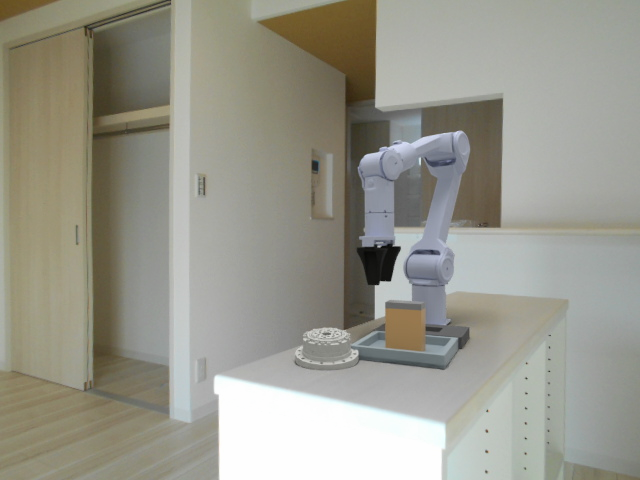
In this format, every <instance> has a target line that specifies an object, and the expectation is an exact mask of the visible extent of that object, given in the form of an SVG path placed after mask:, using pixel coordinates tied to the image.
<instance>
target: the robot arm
mask: <svg viewBox="0 0 640 480" xmlns="http://www.w3.org/2000/svg"><path fill="white" fill-rule="evenodd" d="M470 153H471V145H470V140H469V138H468V135H467V134H466V133H465V132H464V131H463V130H458V131H451V132H444V133H437V134H433V135H432V134H431V135H428V136H424V137H421V138H419V139H417V140H415V141H414V142H412V143H410V142H407V141H403V140H401V139H399V140H395V141H393V142H392V145H390V146H382V147H380V148H379V151H378V152H373V153H372V152H371V153H367V154H365V155H364V156H363V157H362V158H361V160H360V161H359V166H357V172H358V176H359V178H360V181H361V188H362V190H363V191H364V235H363V236H361V235H360V236H359V237H358V240H361V246H359V247H356V253H357V255H358V257H359V259H360V261H361V264H362V266H363V270H364V274H365V279H366V282H367V285H368V286H379V285H380V284H381V282H388V283H389V282H392V279H393V274H394V271H395V264H396V262H397V259H398V256H399V254H400V252H401V251H402V246H401V245H399V246H398V245H396V235H395V180H398V178H399V177H400V176H401V173H403V172H405V171H407V170H410V169H411V168H413V167H414V166H415V164H416V163H417V159H419V158H422V159H423V161H424V164H425V166H426V167H427V169H428V172H429V173H430V175H431V176H433V177H434V178H436V179H437V180H436V185H435V187H434V192H433V196H432V199H431V203H430V206H429V210H428V211H429V212H428V215H427V219H426V222H425V227H424V230H423V234H422V238H421V239H420V240H419V241H417V242H415V243H414V244H413V245H411V246H410V249H409V253H408V254H407V256H406V257H405V259H404V261H403V265H402V268H403V269H402V270H403V274H404V277H405V278H406V280H408V284H410V285H411V301H420V302H425V324H436V325H448V324H449V323H450V322H451V318H447V291H446V286H447V285H449V282H450V281H451V279H452V278H453V277H454V276H453V275H454V272H455V266H454V264H455V263H454V262H455V261H454V260H455V255H456V254H455V253H454V251H453V250H452V248H450V247H449V246H448V244H447V240H448V234H449V231H450V227H451V224H452V219H453V214H454V210H455V207H456V203H457V198H458V194H459V189H460V187H461V181H462V178H463V177H462V176H463V173H465V171H467V166H468V161H469V158H470Z"/></svg>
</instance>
